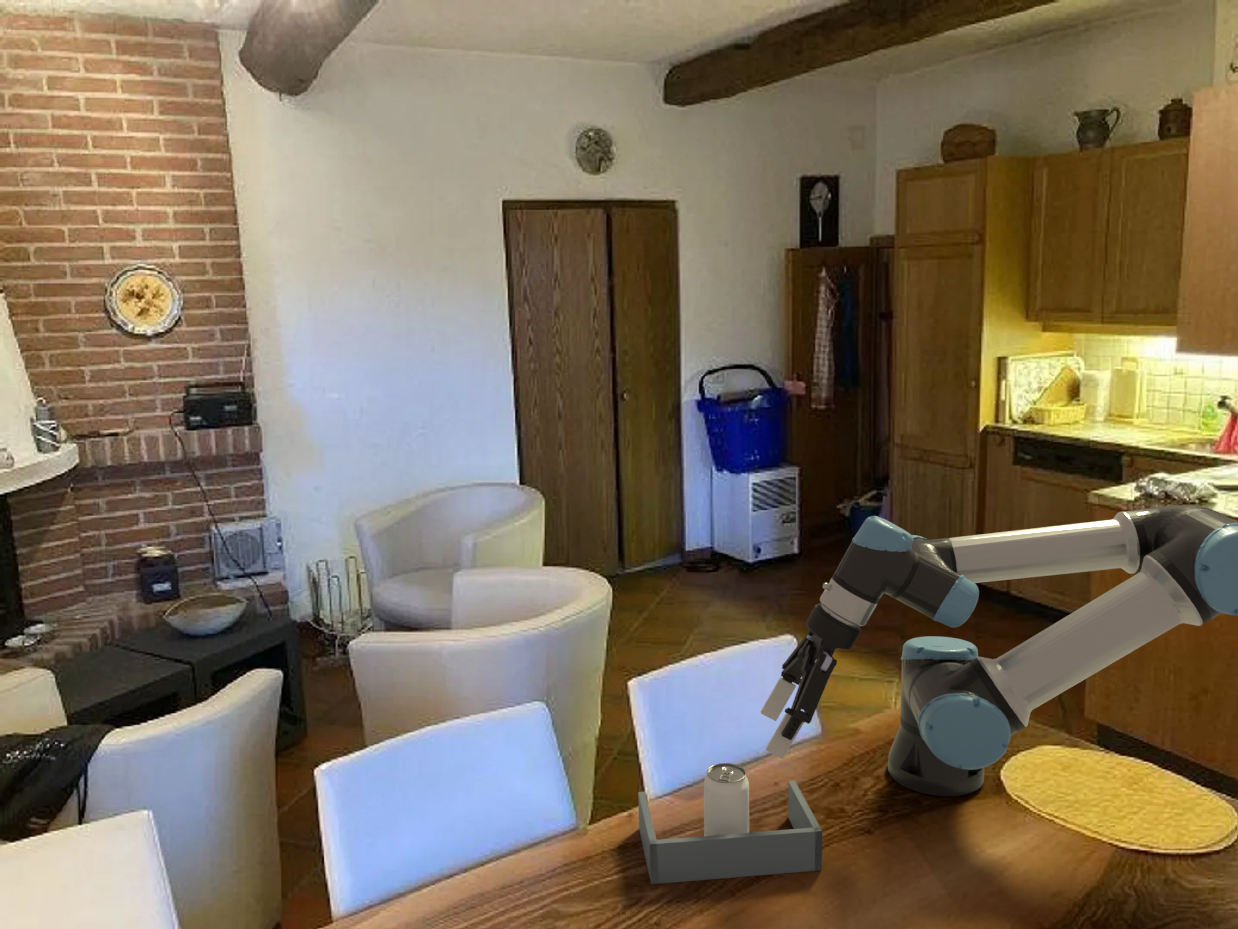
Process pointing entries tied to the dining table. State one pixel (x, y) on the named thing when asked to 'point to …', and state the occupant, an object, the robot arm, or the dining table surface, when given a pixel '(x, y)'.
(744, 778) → the can
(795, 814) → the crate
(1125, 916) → the dining table surface
